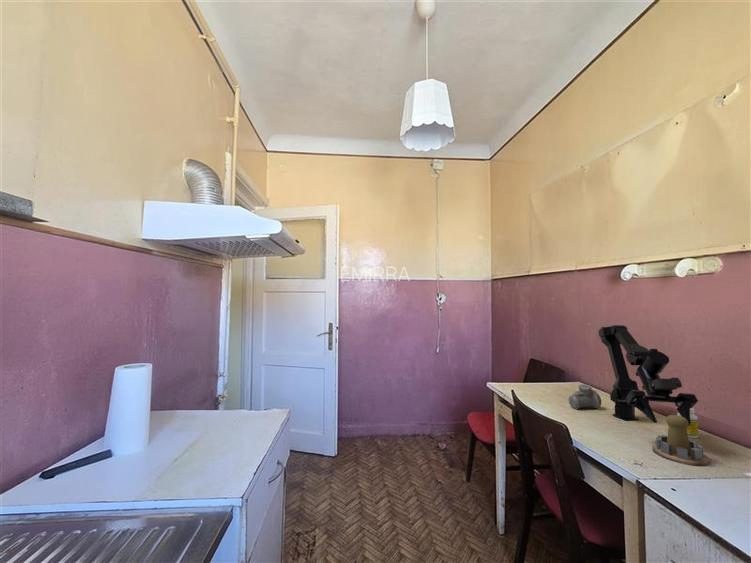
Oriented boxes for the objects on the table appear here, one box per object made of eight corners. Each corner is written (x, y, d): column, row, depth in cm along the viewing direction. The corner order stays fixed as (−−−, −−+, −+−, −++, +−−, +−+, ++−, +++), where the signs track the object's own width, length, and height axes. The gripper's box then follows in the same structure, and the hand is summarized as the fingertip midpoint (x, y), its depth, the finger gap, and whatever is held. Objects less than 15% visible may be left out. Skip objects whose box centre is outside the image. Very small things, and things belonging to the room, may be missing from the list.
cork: (697, 456, 100) (695, 419, 101) (676, 456, 101) (674, 419, 101) (680, 447, 106) (678, 413, 107) (660, 447, 107) (659, 412, 107)
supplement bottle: (693, 439, 115) (691, 411, 116) (674, 433, 120) (673, 406, 121) (701, 436, 117) (700, 409, 118) (683, 431, 122) (681, 404, 123)
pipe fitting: (588, 403, 154) (587, 381, 154) (602, 410, 146) (601, 387, 146) (565, 407, 152) (564, 385, 152) (579, 414, 144) (577, 391, 144)
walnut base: (673, 444, 111) (673, 441, 111) (720, 463, 98) (720, 460, 98) (641, 447, 109) (641, 444, 109) (685, 467, 96) (685, 464, 96)
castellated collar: (674, 443, 110) (674, 434, 110) (713, 458, 99) (712, 448, 99) (647, 445, 108) (647, 436, 108) (684, 461, 97) (683, 451, 97)
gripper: (628, 366, 115) (648, 409, 103) (693, 369, 110) (720, 414, 99) (618, 383, 122) (635, 425, 111) (678, 386, 117) (702, 430, 106)
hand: (672, 423), depth 106 cm, fingers open, 9 cm apart
